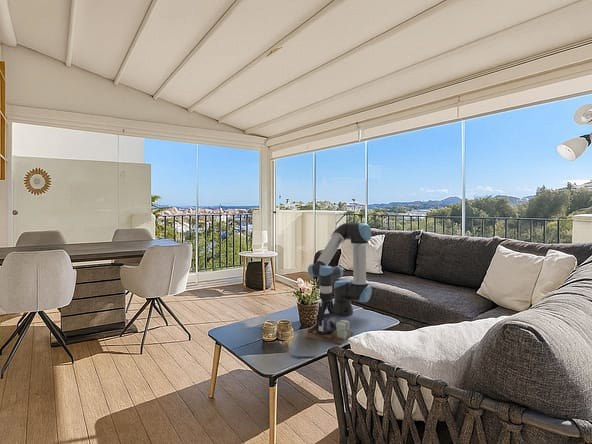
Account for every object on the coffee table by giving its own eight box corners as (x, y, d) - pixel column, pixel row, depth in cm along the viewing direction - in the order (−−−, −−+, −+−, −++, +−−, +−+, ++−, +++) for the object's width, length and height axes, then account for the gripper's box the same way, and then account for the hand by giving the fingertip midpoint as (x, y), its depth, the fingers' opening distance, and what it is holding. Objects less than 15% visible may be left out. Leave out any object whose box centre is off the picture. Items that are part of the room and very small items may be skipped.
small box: (320, 335, 210) (320, 317, 209) (315, 331, 216) (315, 314, 215) (336, 332, 213) (336, 315, 213) (331, 329, 220) (331, 312, 219)
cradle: (320, 327, 227) (320, 312, 226) (353, 334, 215) (353, 318, 215) (306, 337, 211) (306, 321, 211) (341, 344, 200) (341, 327, 199)
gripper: (328, 286, 226) (329, 320, 227) (310, 296, 204) (310, 332, 206) (339, 288, 222) (340, 322, 223) (322, 297, 201) (322, 335, 202)
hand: (325, 327), depth 214 cm, fingers open, 12 cm apart
